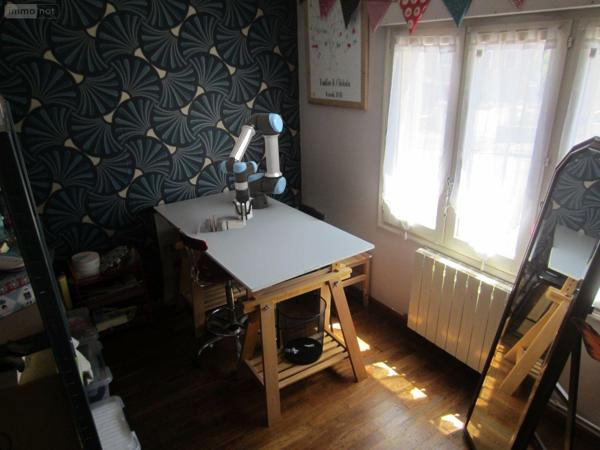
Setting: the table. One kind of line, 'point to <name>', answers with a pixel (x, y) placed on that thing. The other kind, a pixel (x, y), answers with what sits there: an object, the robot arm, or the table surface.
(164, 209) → the table surface
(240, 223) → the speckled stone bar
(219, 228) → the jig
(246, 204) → the ink box
